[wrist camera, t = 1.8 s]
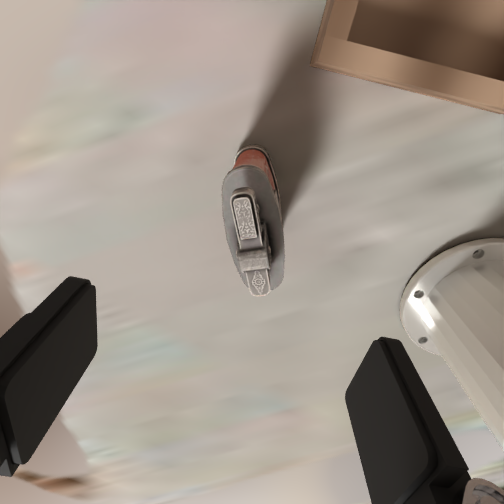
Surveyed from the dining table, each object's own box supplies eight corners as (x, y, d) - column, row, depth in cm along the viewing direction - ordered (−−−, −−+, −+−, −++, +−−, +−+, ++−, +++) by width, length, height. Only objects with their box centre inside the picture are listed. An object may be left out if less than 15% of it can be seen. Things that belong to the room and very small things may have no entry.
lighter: (286, 238, 26) (294, 313, 18) (247, 243, 27) (236, 320, 18) (272, 140, 23) (273, 174, 14) (227, 148, 23) (201, 186, 14)
